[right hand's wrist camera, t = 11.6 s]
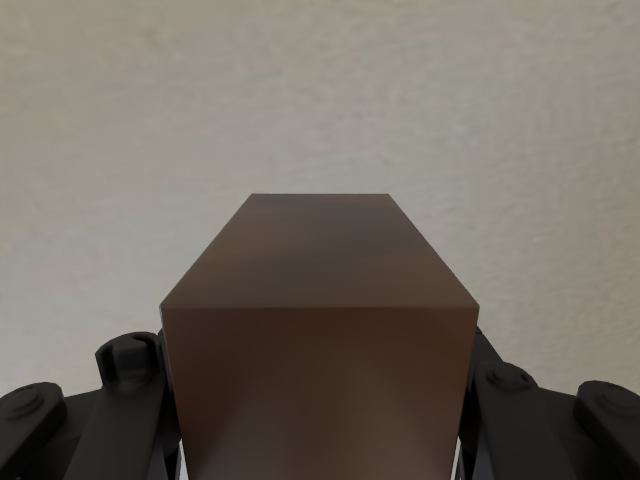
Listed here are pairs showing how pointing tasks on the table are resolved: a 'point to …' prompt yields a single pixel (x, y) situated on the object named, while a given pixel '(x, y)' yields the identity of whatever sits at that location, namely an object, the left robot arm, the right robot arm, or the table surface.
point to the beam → (319, 345)
